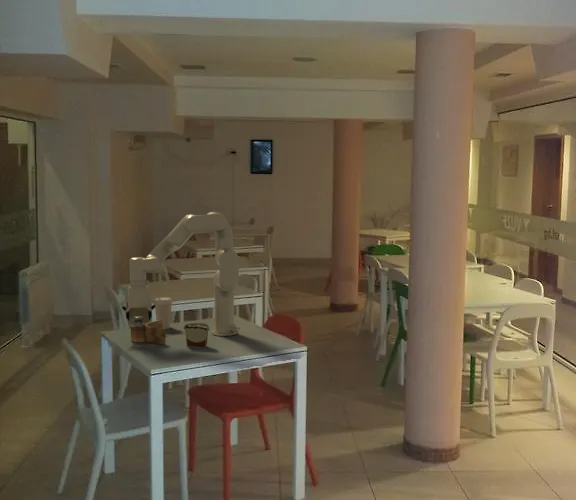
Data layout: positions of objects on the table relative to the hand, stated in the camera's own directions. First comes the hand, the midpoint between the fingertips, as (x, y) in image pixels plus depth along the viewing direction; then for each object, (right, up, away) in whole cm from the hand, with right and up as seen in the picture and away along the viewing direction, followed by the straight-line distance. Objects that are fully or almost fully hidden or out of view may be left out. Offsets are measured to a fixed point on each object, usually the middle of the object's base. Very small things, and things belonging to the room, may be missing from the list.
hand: (139, 319), depth 339 cm
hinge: (+8, -9, +3) cm, 13 cm away
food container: (+29, -11, -10) cm, 33 cm away
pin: (0, -10, +1) cm, 10 cm away
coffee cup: (+7, -7, +27) cm, 29 cm away
